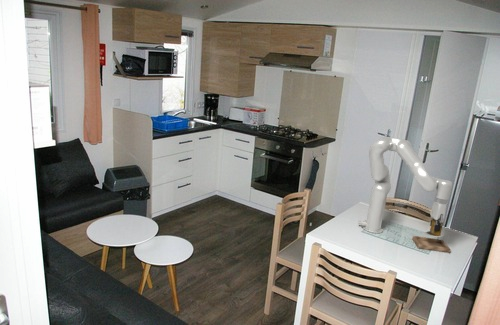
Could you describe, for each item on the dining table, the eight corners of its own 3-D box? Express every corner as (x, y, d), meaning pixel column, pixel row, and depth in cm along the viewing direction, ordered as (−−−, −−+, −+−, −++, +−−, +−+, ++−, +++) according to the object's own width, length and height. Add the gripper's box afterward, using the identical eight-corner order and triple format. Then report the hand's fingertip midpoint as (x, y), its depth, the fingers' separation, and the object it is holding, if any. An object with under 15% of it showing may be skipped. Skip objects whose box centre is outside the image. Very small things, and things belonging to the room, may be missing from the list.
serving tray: (418, 248, 233) (419, 244, 232) (412, 239, 245) (412, 235, 244) (449, 252, 231) (450, 249, 231) (441, 243, 244) (442, 239, 243)
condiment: (443, 235, 235) (447, 217, 232) (435, 237, 230) (439, 219, 227) (432, 230, 241) (436, 212, 238) (424, 232, 236) (428, 214, 233)
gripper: (429, 195, 239) (423, 222, 244) (440, 204, 223) (433, 233, 227) (442, 196, 239) (435, 223, 243) (453, 206, 222) (446, 235, 227)
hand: (434, 228), depth 235 cm, fingers closed on condiment, 6 cm apart
